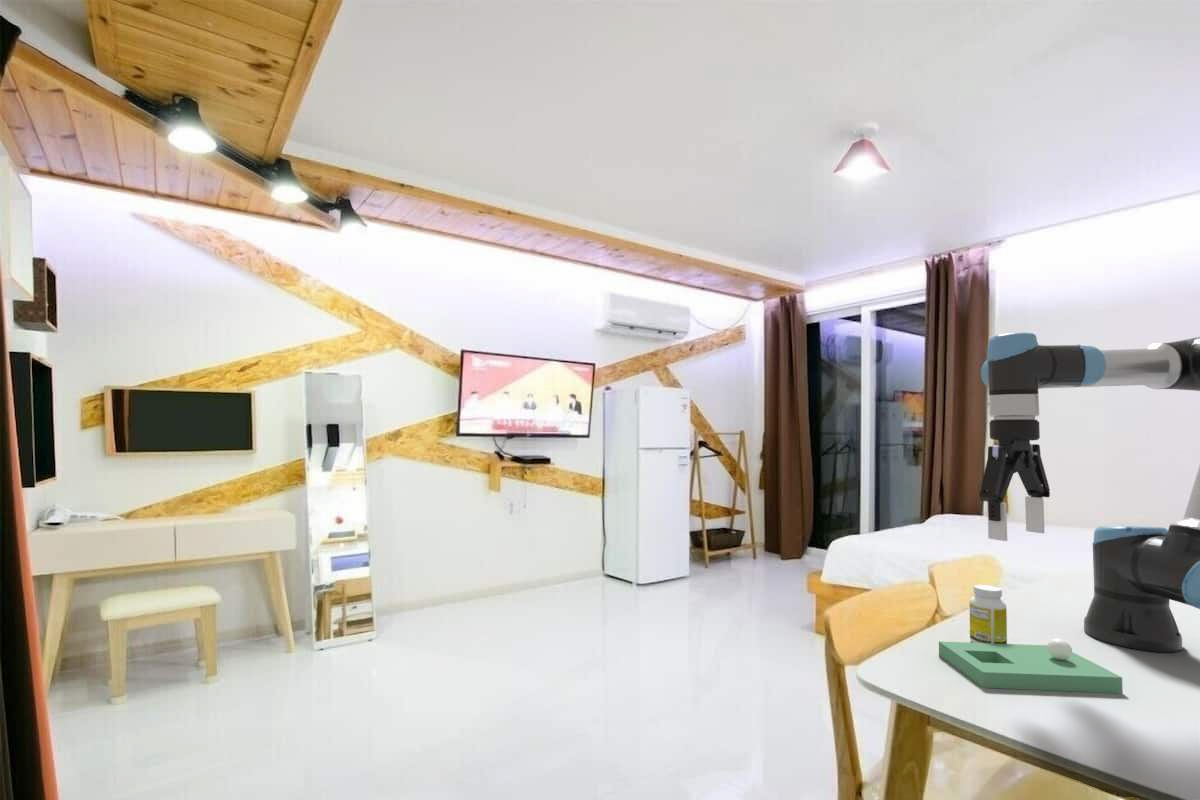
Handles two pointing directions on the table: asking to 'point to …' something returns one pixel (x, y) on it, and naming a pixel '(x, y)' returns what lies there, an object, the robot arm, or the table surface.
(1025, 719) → the table surface
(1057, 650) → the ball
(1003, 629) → the pill bottle
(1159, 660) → the table surface
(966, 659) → the green
